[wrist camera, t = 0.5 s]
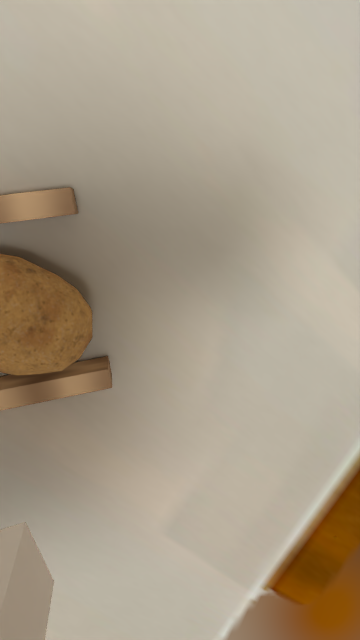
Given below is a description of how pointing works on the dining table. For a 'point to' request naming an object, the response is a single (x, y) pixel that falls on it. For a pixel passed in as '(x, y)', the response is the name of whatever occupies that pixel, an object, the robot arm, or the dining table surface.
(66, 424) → the dining table surface
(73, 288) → the potato
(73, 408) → the dining table surface
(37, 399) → the channel
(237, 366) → the dining table surface
